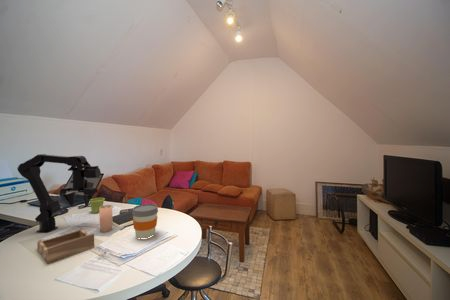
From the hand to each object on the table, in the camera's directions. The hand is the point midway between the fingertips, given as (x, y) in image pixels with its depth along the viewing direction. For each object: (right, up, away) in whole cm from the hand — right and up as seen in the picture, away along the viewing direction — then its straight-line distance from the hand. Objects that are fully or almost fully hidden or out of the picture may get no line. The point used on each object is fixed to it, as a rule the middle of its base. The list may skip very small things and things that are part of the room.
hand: (79, 205), depth 111 cm
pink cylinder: (+17, -12, -4) cm, 22 cm away
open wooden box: (+10, -14, -22) cm, 28 cm away
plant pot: (-8, -12, +28) cm, 31 cm away
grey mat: (+18, -13, -4) cm, 22 cm away
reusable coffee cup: (+40, -14, -7) cm, 43 cm away
